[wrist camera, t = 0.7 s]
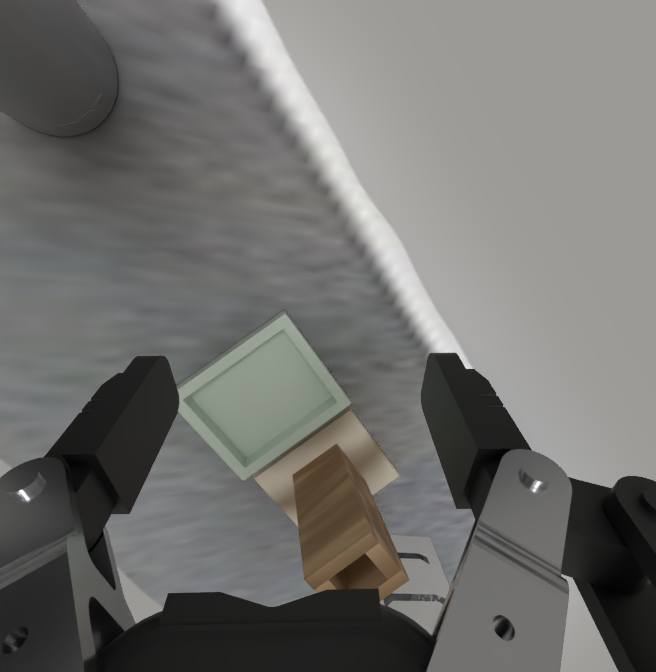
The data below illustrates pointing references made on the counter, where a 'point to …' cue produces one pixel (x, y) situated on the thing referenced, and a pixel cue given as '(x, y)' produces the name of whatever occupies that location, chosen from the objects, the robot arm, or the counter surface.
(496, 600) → the robot arm
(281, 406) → the tray
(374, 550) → the sleeve
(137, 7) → the counter surface
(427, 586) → the grater
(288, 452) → the stake board
